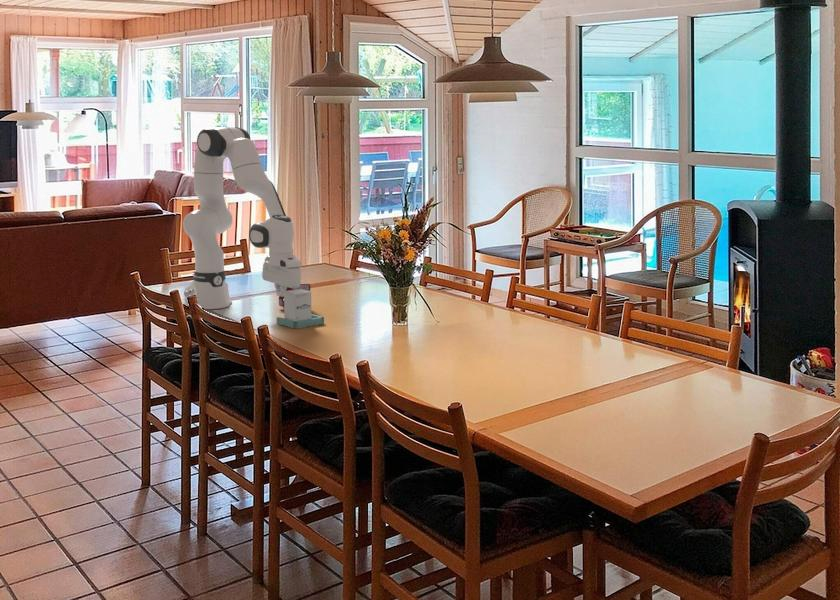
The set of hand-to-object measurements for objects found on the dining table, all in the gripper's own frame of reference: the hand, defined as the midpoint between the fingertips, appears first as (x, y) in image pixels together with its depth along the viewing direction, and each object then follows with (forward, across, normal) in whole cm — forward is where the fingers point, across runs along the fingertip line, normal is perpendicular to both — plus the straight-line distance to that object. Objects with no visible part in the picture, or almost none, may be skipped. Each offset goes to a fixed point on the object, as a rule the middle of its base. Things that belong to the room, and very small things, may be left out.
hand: (280, 296), depth 350 cm
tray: (+8, +12, +1) cm, 15 cm away
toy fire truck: (+9, -11, +14) cm, 21 cm away
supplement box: (+9, +13, -1) cm, 15 cm away
